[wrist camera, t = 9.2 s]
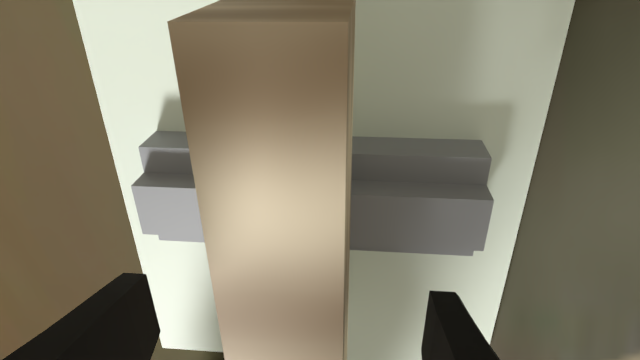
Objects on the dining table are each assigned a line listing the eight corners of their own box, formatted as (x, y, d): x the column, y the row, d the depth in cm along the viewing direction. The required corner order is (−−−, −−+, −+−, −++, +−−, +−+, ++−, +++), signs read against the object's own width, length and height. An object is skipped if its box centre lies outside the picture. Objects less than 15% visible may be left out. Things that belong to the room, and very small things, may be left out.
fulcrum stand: (478, 354, 22) (496, 420, 19) (170, 332, 23) (140, 391, 20) (592, -132, 13) (664, -155, 9) (61, -119, 14) (-25, -136, 11)
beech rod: (347, 360, 18) (340, 494, 14) (274, 355, 18) (245, 484, 14) (355, -10, 11) (348, 22, 7) (242, -9, 12) (167, 21, 7)
